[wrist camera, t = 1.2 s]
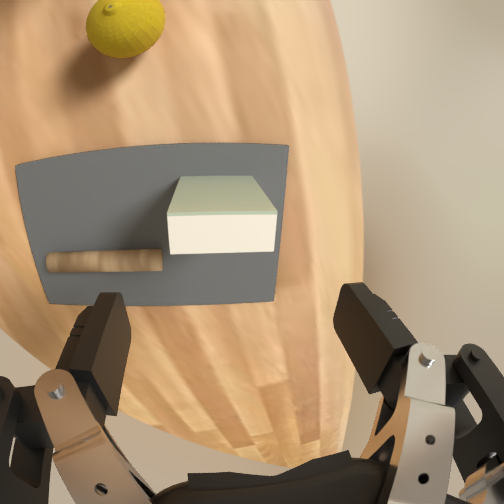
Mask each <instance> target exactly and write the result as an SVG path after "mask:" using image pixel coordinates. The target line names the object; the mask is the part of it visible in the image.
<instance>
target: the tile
mask: <svg viewBox="0 0 504 504" xmlns="http://www.w3.org/2000/svg"><path fill="white" fill-rule="evenodd" d="M167 221H168V234H169V246H170V254H202V253H238V252H273V251H274V244H275V234H276V223H277V210H276V208H275V207H274V205H273V204H272V203H271V201H270V200H269V198H268V197H267V196H266V194H265V193H264V191H263V190H262V189H261V187H260V186H259V185H258V183H257V182H256V180H255V179H254V178H253V176H181V177H180V179H179V182H178V184H177V187H176V190H175V192H174V195H173V198H172V200H171V203H170V206H169V209H168V211H167Z"/></svg>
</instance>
